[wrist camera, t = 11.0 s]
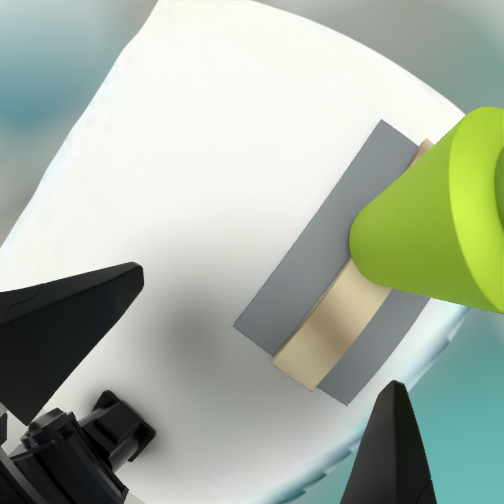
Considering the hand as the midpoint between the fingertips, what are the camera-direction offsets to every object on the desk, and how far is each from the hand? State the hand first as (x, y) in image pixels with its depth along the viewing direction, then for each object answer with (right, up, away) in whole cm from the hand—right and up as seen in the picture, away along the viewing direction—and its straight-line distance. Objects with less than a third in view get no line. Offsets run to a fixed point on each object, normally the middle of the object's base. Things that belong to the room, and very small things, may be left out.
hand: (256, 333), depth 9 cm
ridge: (+9, +2, +12) cm, 15 cm away
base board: (+9, +2, +12) cm, 15 cm away
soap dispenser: (+10, +3, +9) cm, 14 cm away
